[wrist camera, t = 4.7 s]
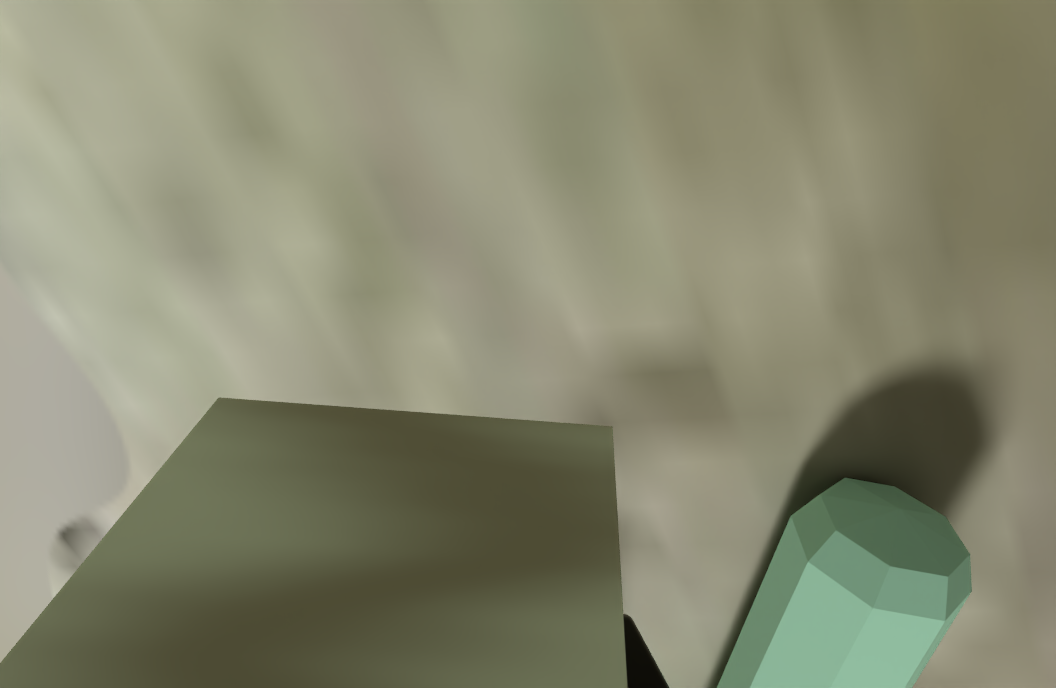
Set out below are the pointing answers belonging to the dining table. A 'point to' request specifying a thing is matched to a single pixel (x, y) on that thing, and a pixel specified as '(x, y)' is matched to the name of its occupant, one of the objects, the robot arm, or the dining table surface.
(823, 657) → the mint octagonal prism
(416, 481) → the sage block
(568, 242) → the dining table surface
